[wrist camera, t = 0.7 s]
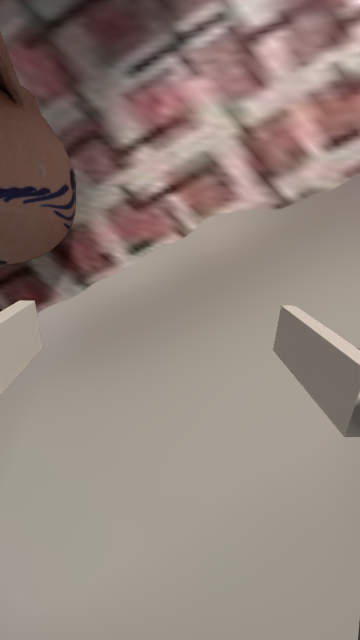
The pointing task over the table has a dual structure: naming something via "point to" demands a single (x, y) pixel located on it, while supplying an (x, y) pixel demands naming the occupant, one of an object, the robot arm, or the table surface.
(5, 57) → the ceramic pitcher
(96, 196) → the table surface
